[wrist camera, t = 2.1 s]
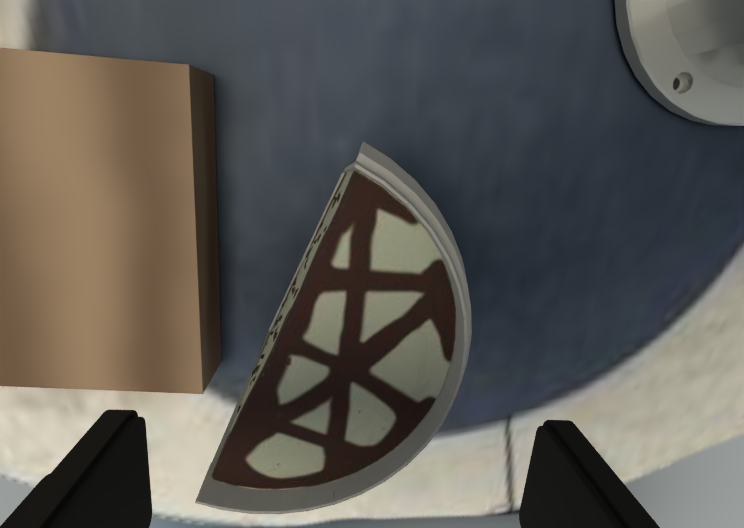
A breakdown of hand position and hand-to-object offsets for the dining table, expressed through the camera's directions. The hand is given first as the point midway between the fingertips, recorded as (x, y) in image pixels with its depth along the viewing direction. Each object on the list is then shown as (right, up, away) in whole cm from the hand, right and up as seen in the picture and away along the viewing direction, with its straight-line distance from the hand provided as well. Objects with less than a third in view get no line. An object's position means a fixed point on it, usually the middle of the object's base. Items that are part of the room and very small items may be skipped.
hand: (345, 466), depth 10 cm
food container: (0, +4, +12) cm, 12 cm away
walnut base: (-15, +7, +10) cm, 19 cm away
